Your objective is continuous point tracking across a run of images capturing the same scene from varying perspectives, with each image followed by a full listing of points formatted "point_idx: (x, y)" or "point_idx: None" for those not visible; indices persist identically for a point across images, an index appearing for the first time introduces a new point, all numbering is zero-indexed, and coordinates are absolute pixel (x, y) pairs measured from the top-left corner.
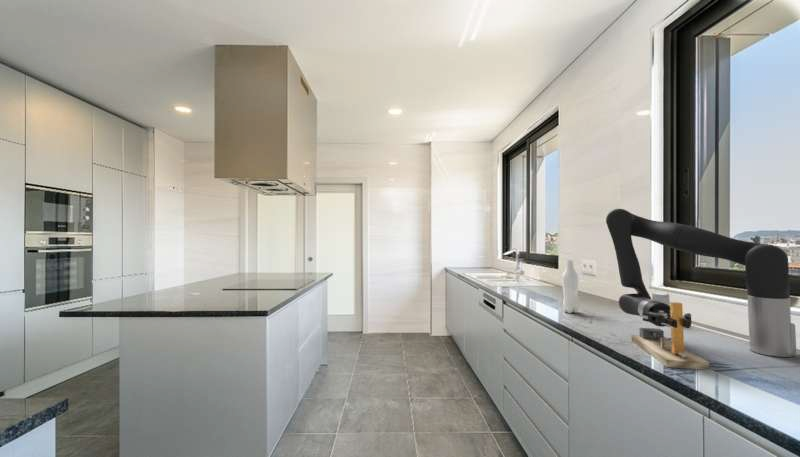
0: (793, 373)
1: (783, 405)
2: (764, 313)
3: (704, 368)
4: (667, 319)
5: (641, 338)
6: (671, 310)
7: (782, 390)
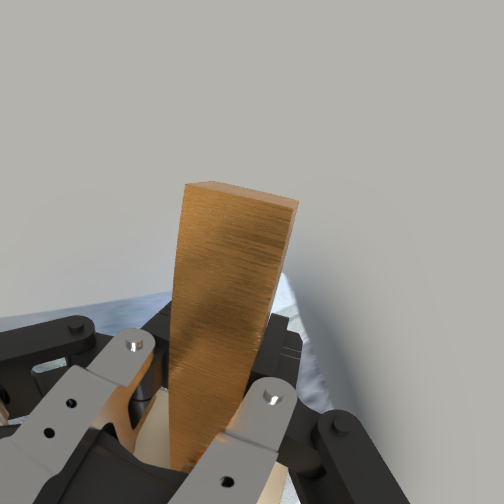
0: (10, 316)
1: None
2: None
3: None
4: (297, 367)
5: None
6: (272, 293)
7: (144, 303)
